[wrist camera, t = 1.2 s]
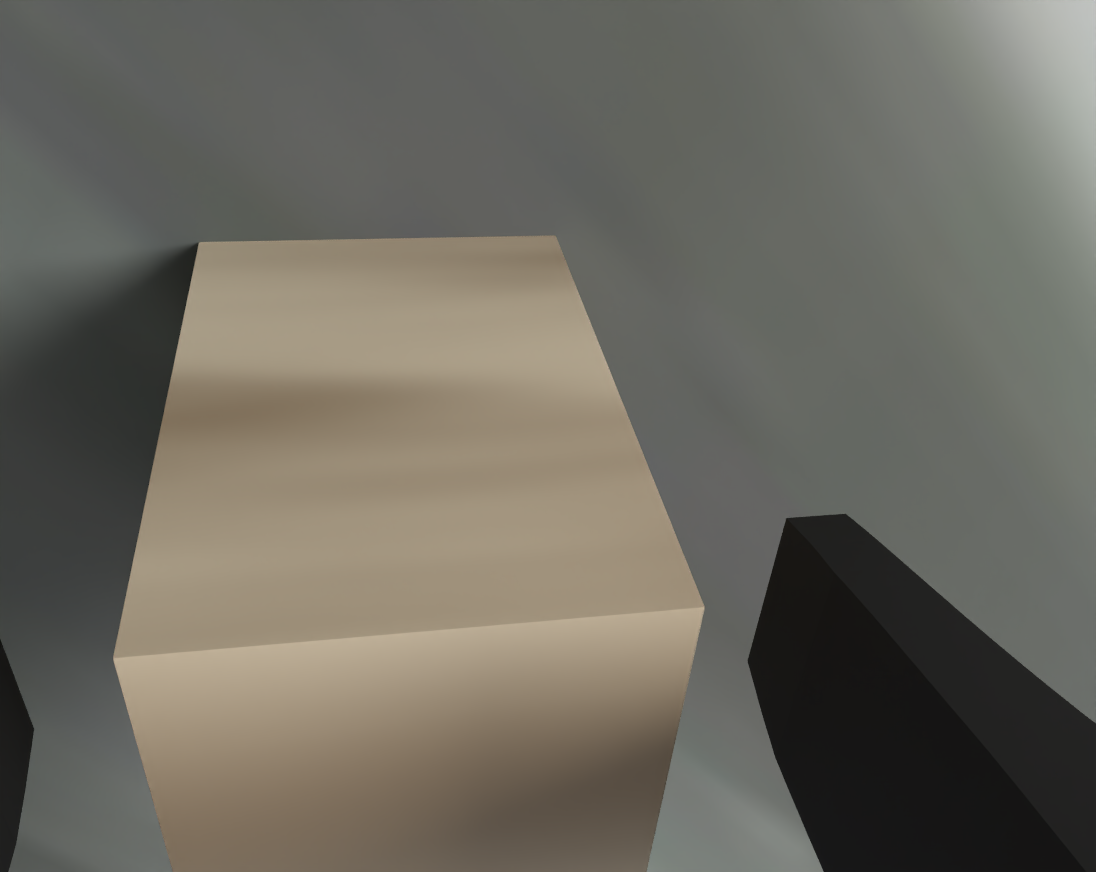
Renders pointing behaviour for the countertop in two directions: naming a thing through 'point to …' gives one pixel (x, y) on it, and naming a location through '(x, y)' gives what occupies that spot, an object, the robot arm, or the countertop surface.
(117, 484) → the countertop surface
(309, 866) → the maple block
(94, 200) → the countertop surface
